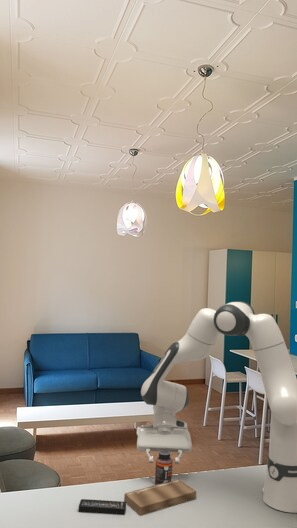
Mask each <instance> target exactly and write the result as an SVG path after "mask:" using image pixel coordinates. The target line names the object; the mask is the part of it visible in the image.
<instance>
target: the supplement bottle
mask: <svg viewBox="0 0 297 528" xmlns="http://www.w3.org/2000/svg"><path fill="white" fill-rule="evenodd" d="M173 463H174V462H173V458H171V452H169V451H160V452H158V457H156V460H155V474H154V477H155V478H154V483H155V485H158V484H162V483H166V482H169V481H173V479H172V478H173Z"/></svg>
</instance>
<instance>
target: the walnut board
mask: <svg viewBox="0 0 297 528" xmlns="http://www.w3.org/2000/svg"><path fill="white" fill-rule="evenodd" d="M123 496H124V498H123V499H124V500H123V502H126V505H128V506H129V507H130V508H131V509H133V510H134V512H135V513H136V514H138V515H139V516H143V515H147V514H150V513H154V512H157V511H160V510H163V509H167V508H170V507H173V506H176V505H177V506H178V505H179V504H183V503H186V502H190V501H192V500H196V499H197V490H196V489H194V488H193V487H191V486H190V485H188V484H187V483H185V482H183V481H182V480H180V479H177V478H176V479H172V481H169V482H166V483H162V484H158V485H156V484H155V485H151V486H147V487H144V488H140V489H139V488H138V489H134V490H132V491H127V492H124V495H123Z"/></svg>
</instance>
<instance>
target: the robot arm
mask: <svg viewBox="0 0 297 528" xmlns="http://www.w3.org/2000/svg"><path fill="white" fill-rule="evenodd" d="M220 335H224V336H230V337H231V336H232V337H234V336H237V337H244V336H246V337H247V338H248V340H249V342H250V345H251V348H252V351H253V355H254V357H255V360H256V362H257V366H258V369H259V372H260V376H261V379H262V383H263V387H264V391H265V395H266V398H267V401H268V402H267V403H268V406H269V408H270V409H269V410H270V426H269V427H270V428H269V441H268V442H269V449H268V450H269V451H268V456H267V460H266V463H267V465H266V466H267V469H266V471H265V478H264V486H263V487H262V489H261V492H262V500H263V502H264V503H265V505H267V506H268V507H271V508H272V509H274V510H278V511H281V512H285V513H292V514H293V513H294V514H297V374H296V372H295V369H294V365H293V362H292V358H291V355H290V353H289V349H288V348H287V345H286V341H285V339H284V336H283V334H282V331H281V329H280V328H279V325H278V324H277V322H276V320H275V318H274V317H273V316H272V315H270V314H269V313H258V314H256V313H255V310H254V308H253V307H252V306H251V305H250V304H249V303H248V302H246V301H241V300H240V301H231V302H228V303H226V304H223V305H221V306H219V307H218V308H217V309H216V310H215V309H214V308H208V307H205V308H201V309H200V310H199V311H198V312H197V314H196V315H195V317H193V319H192V321H191V323H190V325H189V327H188V329H187V331H186V332H185V334H184V335H183V337H181V338H180V339H179V340H178V341H176V342H173V343H172V344H170V345H169V347H168V348H167V350H166V351H165V352H164V354H163V356H162V357H161V358H160V360H159V361H158V363H157V364H156V366H155V367H154V369H153V370H152V372H151V373H150V375H149V376H147V378H146V379H145V380H144V382H143V384H142V386H141V389H140V396H141V399H142V400H143V402H144V403H145V404H146V405H149V406H152V410H153V415H152V425H151V424H149V425H147V424H146V425H145V424H141V425H140V426H138V427H137V428H136V436H137V440H136V449H137V451H140V452H145V454H146V457H147V458H148V463H149V464H153V463H154V456H153V455H152V456H151V454H150V453H151V452H157V453H159V452H160V451H169V452H170V453H177V456H176V457H174V464H175V465H180V459H181V457H182V456H183V453H184V454H185V453H186V454H187V453H188V454H189V453H190V452H191V451H192V448H193V445H192V438H191V437H192V436H191V432H190V431H189V430H188V429H189V428H188V423H187V422H186V421H183V420H180V419H177V418H176V413H177V414H178V413H179V412H182V411H183V410H185V409H186V408H187V407H188V405H189V403H190V394H189V393H190V392H189V390H188V388H187V387H186V386H185V385H183V384H180V383H177V382H171V381H169V380H165V378H166V377H167V375H168V374H169V373H170V372H171V369H172V368H173V366H175V365H177V364H179V363H185V362H194V361H195V362H197V361H200V360H204V359H206V358H207V357H208V356H209V355H210V354H211V353H212V350H213V349H214V347H215V345H216V342H217V340H218V338H219V337H220Z"/></svg>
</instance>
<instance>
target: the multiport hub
mask: <svg viewBox="0 0 297 528" xmlns="http://www.w3.org/2000/svg"><path fill="white" fill-rule="evenodd" d="M126 511H127V503H126V502H125V501H121V500H120V501H119V500H102V499H86V498H82V499H80V502H79V504H78V513H86V514H87V513H88V514H89V513H90V514H104V515H117V516H119V515H120V516H122V515H123V516H124V515H126Z"/></svg>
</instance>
